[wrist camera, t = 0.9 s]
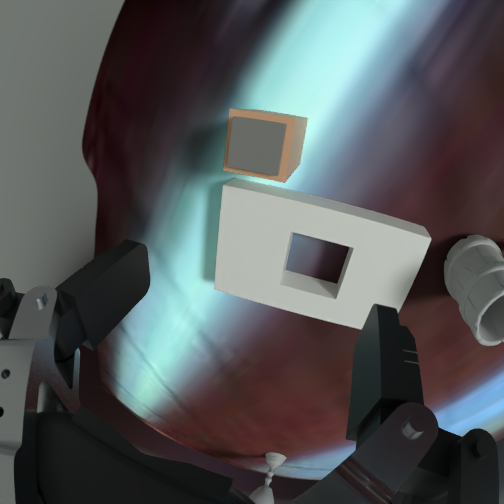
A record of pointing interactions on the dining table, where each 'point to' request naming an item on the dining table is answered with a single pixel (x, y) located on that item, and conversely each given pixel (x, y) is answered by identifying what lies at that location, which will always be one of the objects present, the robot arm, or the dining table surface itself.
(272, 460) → the chalice
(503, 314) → the mug
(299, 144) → the plug
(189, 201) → the dining table surface
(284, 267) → the socket plate
